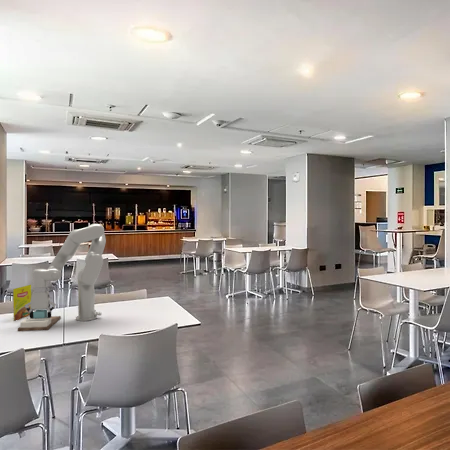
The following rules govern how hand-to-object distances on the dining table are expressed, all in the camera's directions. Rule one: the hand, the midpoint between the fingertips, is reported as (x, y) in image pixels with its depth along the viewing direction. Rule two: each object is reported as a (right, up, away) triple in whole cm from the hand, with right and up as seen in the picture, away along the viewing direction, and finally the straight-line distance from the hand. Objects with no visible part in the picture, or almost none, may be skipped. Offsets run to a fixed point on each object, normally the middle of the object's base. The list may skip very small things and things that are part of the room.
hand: (40, 318), depth 222 cm
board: (0, -4, 0) cm, 4 cm away
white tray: (+1, -2, -7) cm, 7 cm away
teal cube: (0, -2, 0) cm, 2 cm away
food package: (-18, -3, +14) cm, 23 cm away
